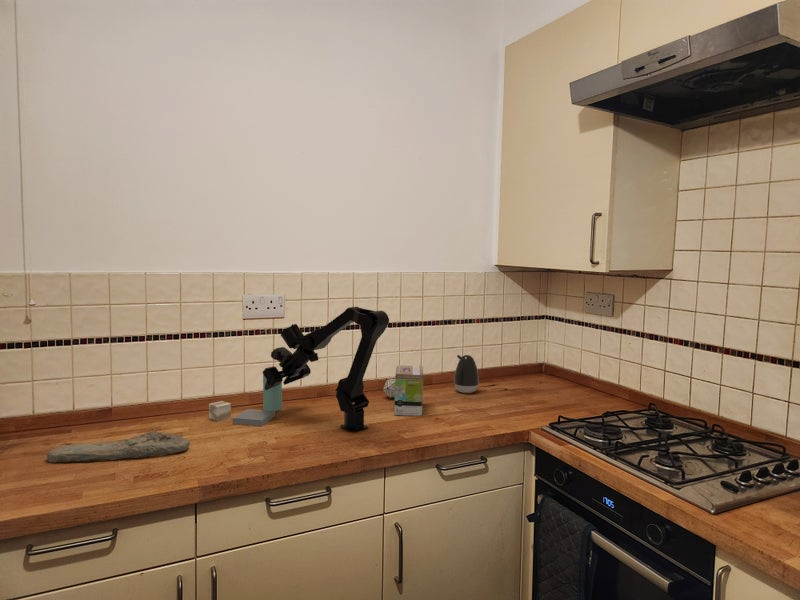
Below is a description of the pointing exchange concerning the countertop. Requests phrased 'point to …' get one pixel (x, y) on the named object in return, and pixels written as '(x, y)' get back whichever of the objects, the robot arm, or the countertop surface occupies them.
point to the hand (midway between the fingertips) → (274, 386)
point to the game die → (389, 388)
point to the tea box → (408, 390)
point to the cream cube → (219, 411)
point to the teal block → (272, 397)
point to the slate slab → (253, 417)
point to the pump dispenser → (466, 375)
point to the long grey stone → (121, 448)
